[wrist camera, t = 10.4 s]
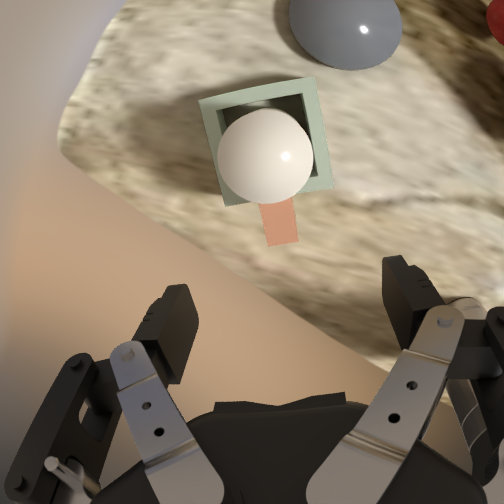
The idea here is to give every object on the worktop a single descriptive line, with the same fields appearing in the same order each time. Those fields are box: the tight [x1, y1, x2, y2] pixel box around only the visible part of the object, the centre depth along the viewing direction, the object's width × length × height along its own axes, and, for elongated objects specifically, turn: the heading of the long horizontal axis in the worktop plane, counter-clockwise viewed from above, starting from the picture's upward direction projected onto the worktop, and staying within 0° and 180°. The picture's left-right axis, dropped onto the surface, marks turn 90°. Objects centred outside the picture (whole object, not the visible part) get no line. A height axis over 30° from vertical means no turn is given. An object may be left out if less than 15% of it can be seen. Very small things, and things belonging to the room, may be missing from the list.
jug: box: [217, 107, 313, 246], centre depth 24 cm, size 9×6×10 cm, turn 12°
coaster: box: [288, 0, 402, 71], centre depth 21 cm, size 10×10×1 cm
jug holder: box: [198, 77, 334, 207], centre depth 26 cm, size 9×9×3 cm
